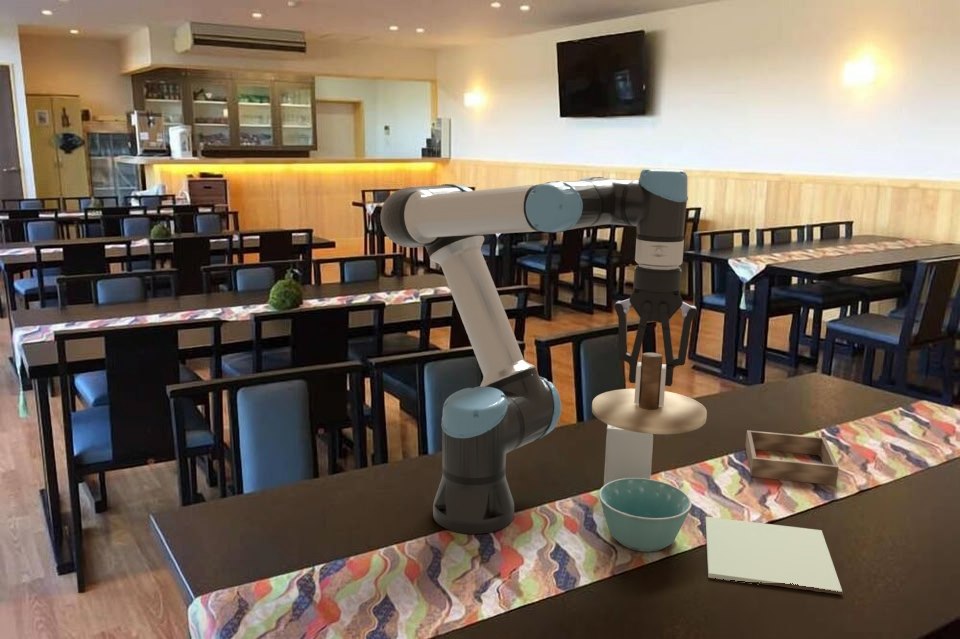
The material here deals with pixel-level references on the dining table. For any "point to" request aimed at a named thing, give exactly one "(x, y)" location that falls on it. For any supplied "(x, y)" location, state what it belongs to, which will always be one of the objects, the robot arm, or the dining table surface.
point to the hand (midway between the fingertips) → (649, 401)
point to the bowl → (644, 512)
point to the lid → (649, 405)
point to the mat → (769, 554)
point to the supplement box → (627, 454)
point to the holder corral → (791, 469)
